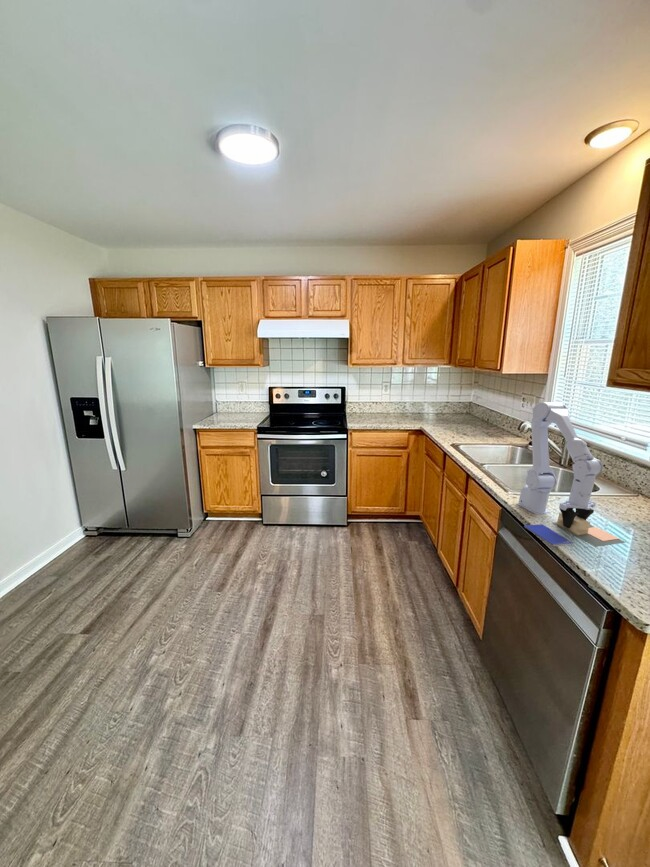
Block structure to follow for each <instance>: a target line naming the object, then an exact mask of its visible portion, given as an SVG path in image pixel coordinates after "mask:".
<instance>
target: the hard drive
mask: <svg viewBox="0 0 650 867" xmlns="http://www.w3.org/2000/svg"><path fill="white" fill-rule="evenodd" d="M523 527H524V528H525V529H527V530H528V531H530V532H531V533H533V534H534V535H536V536H537V537H538V538H540V539H541V540H543V541H545V542H546V543H547V544H549V545H550V546H553V547H557V546H571V544H575V543H574V542H572V541H570V540H569V539H567V538H565V537H564V536H562V535H560V534H559V533H557V532H556V531H555V530H553V529H551V528H549V526H548V527H547V525H544V524H529V525H528V524H526V525H524V526H523Z"/></svg>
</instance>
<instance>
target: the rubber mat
mask: <svg viewBox="0 0 650 867" xmlns="http://www.w3.org/2000/svg"><path fill="white" fill-rule="evenodd" d="M552 524H554V526H557V527H558V528H561V529H563V530H564V531H566V532H568V533H569V534H572V535H574V536H575V537H576V538H579V539H580V540H583V542H585V543H588V544H590V545H592V546H594V547H603V546H611V545H617V544H623V543H624V544H625V543H626V541H624V540H622V539H620V538H619V539H617V540H610V541H601V540H599V539H597V538H595V537H593V536H591V535H589V534H582V535H577V534H575V533H573V532H571V531H569V530H567V529H566V528H564V527H562V526H560V525H558V524H557V521H556V522H552ZM592 527H595V526H593V525H592V524H590V526H589V528H592Z"/></svg>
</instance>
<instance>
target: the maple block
mask: <svg viewBox="0 0 650 867" xmlns="http://www.w3.org/2000/svg"><path fill="white" fill-rule="evenodd" d="M556 522H557V524H558V525H560V526H562V527H564V528H566V529H567V530H569V531H571V532H573V533H575V534H577V535H582V534H587V533H588V529H589V526H590V525H591V522H590V521H588V519H586V520H584V519H582V518H580V517H578V516H576V517H575V518H574V520H573V522H572V525H571V527H570V528H567V527H565V526H563V518H562V513H561V512H559V514H558V517H557V521H556Z"/></svg>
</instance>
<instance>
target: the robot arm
mask: <svg viewBox="0 0 650 867" xmlns="http://www.w3.org/2000/svg"><path fill="white" fill-rule="evenodd" d="M569 413H570V411H569V410H568V408H567V405H566V404H565V403H564V402H560V401H559V402H547V401H540V402H538V403H537V404H536V405H534V406H533V408H532V418H531V423H530V425H531V426H530V427H531V447H532V449H531V450H532V451H531V452H532V466H531V467H530V468H529V469H528V470H527V475H526V477H525V483H526V485H524V486H522V488H521V490H520V493H519V494H520V495H519V499H518V502H516V505H518V506H520V507H521V508H524V509H525V510H527V511H529V512H531V513H533V514H534V515H537V514H538V515H539V514H541V515H542V514H548V513H552V511H550V510H549V509H547V505H548V500H549V497H550V493H551V492H552V489H554V488H556V487H557V484H558V479H557V477H556V475H555V470H554V468H552V467H551V465H550V454H549V453H550V452H549V450H550V449H549V429H548V428H549V426H550V425H551V424H555V425H556V426H557V428H558V430H559V431H560V432H561V434H562V436H563V437H564V439H565V441H566V444H565V448H566V450H567V452H568V453H569V456H570V458H571V459H572V461H573V464H572V471H573V480H572V485H571V489H570V494H569V497H568V499H567V500H565V501H564V502H560V503H559V507H558V509H559V511H560V513H562V518H563V526H565V527H567V528H570V527H571V525H572V522H573V520H574V518H575V517H576V516H578V517H580V518H582V519H584V520H588V518H589V517H590V516H591V515H593V514H594V511H595V510H594V509H595V507H596V504H597V502H595V501H593V500H591V497H592V492H593V488H594V485H595V480H596V477H597V476H598V475H600V474H601V473H602V471H603V465H602V462H601V460H600V459H598V458H596V457H595V456H594V455H593V454H592V453H591V450H590V449H589V448H588V443H587V442H586V441H585V440H584V439H581V438H578V435H577V433H576V430H575V429H574V426H573V424H572V422H571V420H570V418H569ZM593 508H594V509H593ZM574 509H575V510H574Z"/></svg>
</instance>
